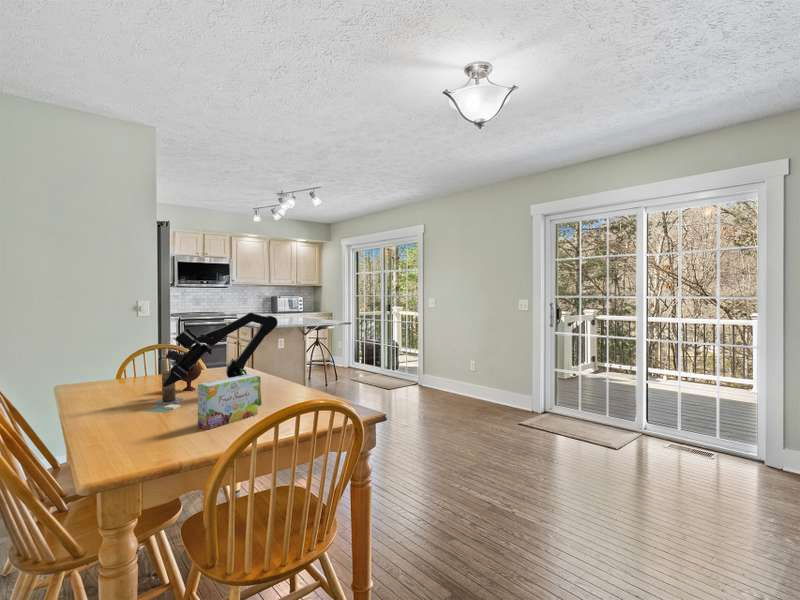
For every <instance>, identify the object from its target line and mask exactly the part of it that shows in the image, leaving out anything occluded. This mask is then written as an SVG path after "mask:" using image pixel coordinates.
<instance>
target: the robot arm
mask: <svg viewBox="0 0 800 600" xmlns="http://www.w3.org/2000/svg"><path fill="white" fill-rule="evenodd" d="M250 323H255V324H259V327H258V329H257V332H256V333H255V334H254V336H253V337H252V338H251V340H250V341H249V343H247V346H246V347H245V348H244V349H243V350H242V352H240V354H239V356H238V357H237V358H236V359H234V358H231V360H230V362H229V363H228V364H227V365H226V368H225V369H226V370H225V373H226V376H227V378H231V377H236V376H241V372H240V369H244V370H245V367H246V363H247V362H248V361H249V359H250V358H251V356H252V355H253V354H254V353H255V351H256V350H257V348H258V347H259V346H260V345H261V344H262V342H263V340H264V339H265V337H266V336H268V335H269V334H270V333H271V332H272V331H273V330H274V329H275V328H276V327H277V326H278V319H277V318H276V317H275V316H273V315H260V314H257V313H253V312H248V313H247V314H245V315H243V316H241V317H240V318H237V319H235V320H234V321H232V322H230V323H228V324H227V325H224V326H222V327H219V328H215V329H212V330H209V331H207V332H206V333H204V334H199V335H196V334H195V333H193V332H192V331H191V329H190V328H189V327H186V328H185V329H183V331H182V332H180V333H179V334H178V335H177V336H176V337H175V338H174V341H176V342H177V343H178V344H179V345H181V346H182V347H183V348H184V349H186V348H188V350H187V351H186V352H184V353H181V352H179V351H176V350H174V349H169V350H167V351H168V352H167V353H166V355H165V358H166V359H167V360H172V361H174V362H173V363H172V367H170V370H169V371H170V373H171V374H170V376H169V377H168V378H167V380H166V381H165V383H164V384H163V386H164V387H166V386H168V385H170V384H172V383H175V384H176V383H178V381H182V379H184V378H185V377H186V376H187V372H188V371H189V370H190V368H191V367H192V366H193V365H194V364H197V363H198V362H199V360H201V358H203V357H204V356H205V355H206V354H207V353H208V354H209V355H212V350H213V348H212V347H213V346H215V345H217V344H218V343H219V342H221V341H222V340H223V339H224V338H225V337H226V336H228V335H230V334H232V333H234V332H236V331H237V330H239V329H241V328H243V327H245V326H247V325H248V324H250ZM201 343H202V344H201Z"/></svg>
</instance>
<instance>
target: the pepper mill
mask: <svg viewBox="0 0 800 600" xmlns="http://www.w3.org/2000/svg"><path fill="white" fill-rule="evenodd" d="M170 374H171V373H170V370H166V371H163V372H162V374H161V393H162V394H161V397H162V398H161V399H162V402H172V401H175V400H176V398H175V397H176V382H175V383H172V384H170V385H168V386H166V387H164V386H163V384H164V383H165V381H166V380H167V378H168V377H169V376H170Z"/></svg>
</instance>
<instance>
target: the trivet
mask: <svg viewBox="0 0 800 600" xmlns="http://www.w3.org/2000/svg"><path fill="white" fill-rule="evenodd" d="M175 398H176V400H175V401H172V402H162V398H160V399H157V400H154V401H153V404H154V405H157V406H159V405H160V406H167V405H170V404H174V405H176V404H179V403H181V402H183V401H184V400H185V399H184V398H183V397H180V396H179V397H176V396H175Z"/></svg>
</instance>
